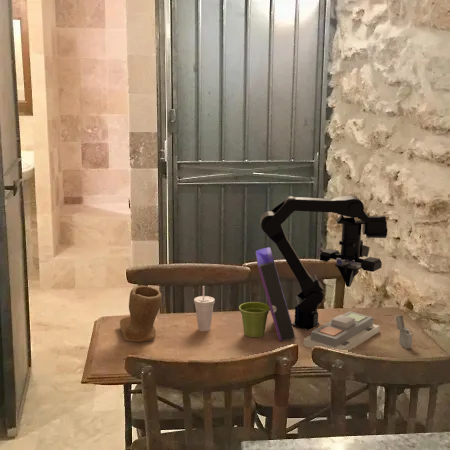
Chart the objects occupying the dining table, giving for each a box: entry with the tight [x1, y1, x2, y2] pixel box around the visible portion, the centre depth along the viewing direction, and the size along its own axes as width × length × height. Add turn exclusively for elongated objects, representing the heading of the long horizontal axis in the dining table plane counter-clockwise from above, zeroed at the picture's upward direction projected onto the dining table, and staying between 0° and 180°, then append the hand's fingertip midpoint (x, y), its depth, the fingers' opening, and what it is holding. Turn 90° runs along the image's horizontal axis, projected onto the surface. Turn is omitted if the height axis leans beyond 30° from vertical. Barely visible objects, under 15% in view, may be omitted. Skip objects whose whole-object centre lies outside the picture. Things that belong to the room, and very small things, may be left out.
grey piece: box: [303, 310, 380, 352], centre depth 198 cm, size 12×24×4 cm, turn 140°
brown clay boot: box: [119, 285, 163, 343], centre depth 198 cm, size 15×12×15 cm
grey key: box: [331, 314, 355, 330], centre depth 197 cm, size 5×5×2 cm
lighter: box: [395, 314, 413, 350], centre depth 194 cm, size 7×2×8 cm, turn 15°
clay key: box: [319, 326, 343, 337], centre depth 192 cm, size 5×5×2 cm
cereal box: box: [254, 246, 296, 343], centre depth 201 cm, size 17×5×24 cm, turn 0°
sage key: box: [347, 313, 366, 323], centre depth 203 cm, size 5×5×2 cm
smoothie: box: [193, 285, 216, 332], centre depth 203 cm, size 6×6×14 cm
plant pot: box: [238, 301, 270, 338], centre depth 200 cm, size 9×9×9 cm
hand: (348, 286), depth 205 cm, fingers closed
